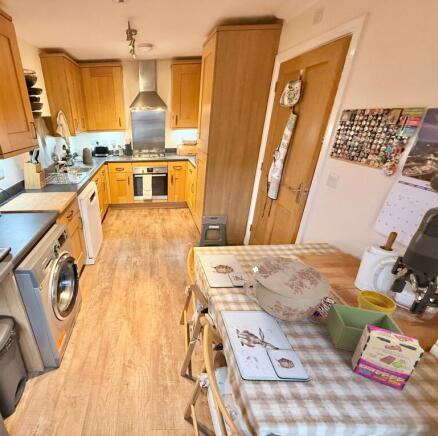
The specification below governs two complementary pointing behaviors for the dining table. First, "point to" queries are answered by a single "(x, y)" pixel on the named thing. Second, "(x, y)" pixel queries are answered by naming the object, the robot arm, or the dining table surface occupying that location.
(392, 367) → the candy bar box
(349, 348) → the bin
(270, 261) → the chamber pot
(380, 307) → the flower pot
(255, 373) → the dining table surface
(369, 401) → the dining table surface
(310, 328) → the dining table surface
